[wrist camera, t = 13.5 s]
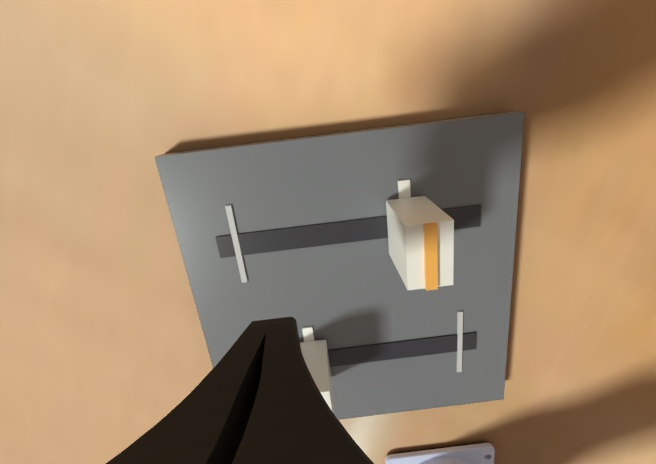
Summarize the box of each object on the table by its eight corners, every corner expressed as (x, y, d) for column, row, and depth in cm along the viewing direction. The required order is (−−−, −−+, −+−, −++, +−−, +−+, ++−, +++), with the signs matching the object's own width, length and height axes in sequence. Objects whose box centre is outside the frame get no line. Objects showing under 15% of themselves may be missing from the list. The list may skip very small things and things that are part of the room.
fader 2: (425, 249, 19) (454, 287, 15) (389, 254, 19) (408, 292, 15) (424, 195, 18) (455, 221, 14) (385, 200, 18) (406, 227, 14)
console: (494, 385, 25) (504, 400, 23) (235, 417, 25) (230, 434, 23) (511, 111, 18) (526, 112, 17) (163, 153, 18) (153, 157, 17)
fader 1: (331, 379, 22) (336, 440, 18) (299, 383, 22) (296, 445, 18) (326, 339, 21) (329, 394, 17) (292, 343, 21) (288, 399, 17)
